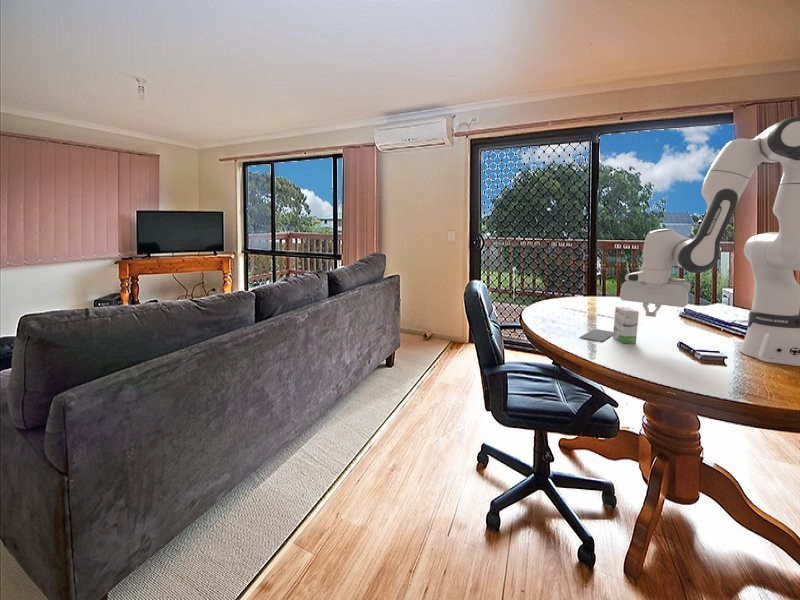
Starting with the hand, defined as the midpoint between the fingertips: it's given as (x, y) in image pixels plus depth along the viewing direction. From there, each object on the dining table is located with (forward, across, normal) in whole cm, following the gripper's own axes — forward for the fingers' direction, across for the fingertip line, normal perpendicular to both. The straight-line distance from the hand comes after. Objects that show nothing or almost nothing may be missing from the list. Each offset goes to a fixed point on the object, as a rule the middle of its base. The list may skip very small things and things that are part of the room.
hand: (650, 316), depth 143 cm
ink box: (+10, +8, 0) cm, 13 cm away
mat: (+10, +17, 0) cm, 20 cm away
